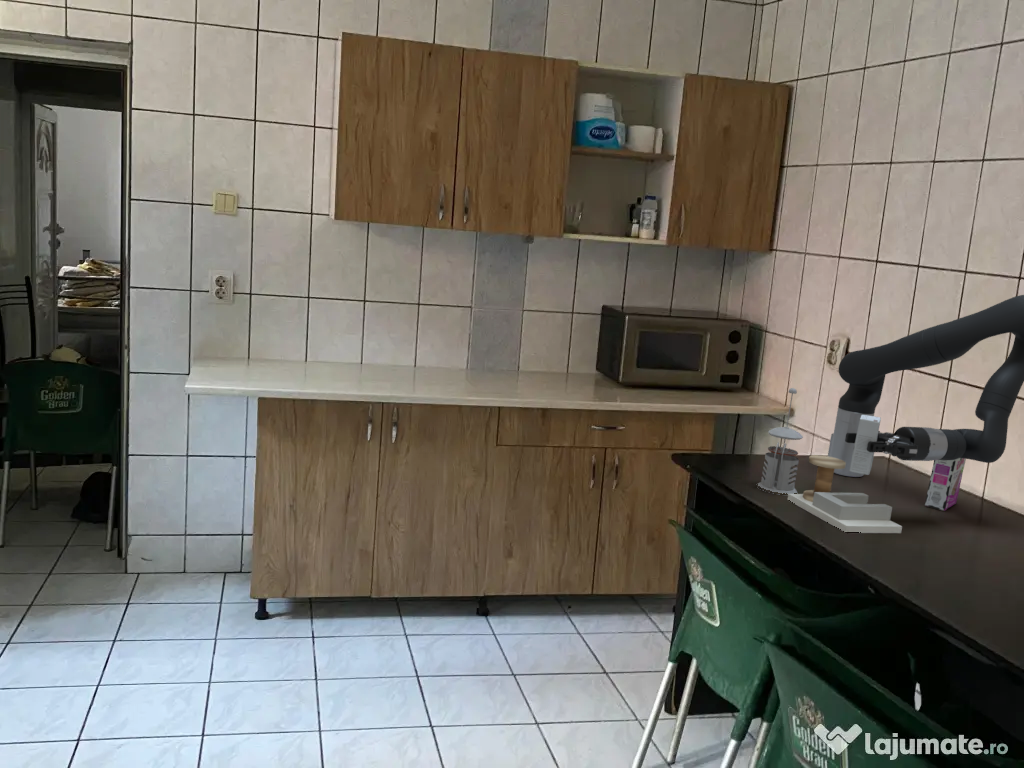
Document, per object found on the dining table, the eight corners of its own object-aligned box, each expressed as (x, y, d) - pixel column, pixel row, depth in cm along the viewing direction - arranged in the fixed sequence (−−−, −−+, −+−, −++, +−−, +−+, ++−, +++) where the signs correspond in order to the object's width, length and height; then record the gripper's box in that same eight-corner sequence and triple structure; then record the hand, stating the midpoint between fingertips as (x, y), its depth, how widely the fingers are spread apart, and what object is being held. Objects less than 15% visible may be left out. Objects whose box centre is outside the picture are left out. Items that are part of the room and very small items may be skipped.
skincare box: (851, 466, 207) (859, 413, 204) (872, 470, 205) (881, 417, 203) (848, 471, 201) (857, 417, 199) (870, 476, 199) (880, 421, 197)
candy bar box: (945, 512, 219) (959, 445, 216) (923, 506, 222) (936, 440, 219) (957, 504, 228) (970, 439, 225) (936, 498, 231) (949, 435, 228)
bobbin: (795, 493, 215) (802, 454, 213) (825, 494, 217) (831, 455, 216) (816, 504, 208) (822, 464, 206) (846, 505, 210) (853, 465, 208)
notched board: (787, 499, 215) (790, 481, 214) (838, 500, 219) (841, 482, 218) (845, 532, 194) (849, 512, 193) (900, 533, 198) (904, 513, 197)
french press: (800, 488, 226) (816, 389, 222) (793, 499, 216) (810, 395, 211) (759, 480, 230) (775, 382, 226) (751, 490, 220) (767, 388, 215)
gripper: (900, 420, 212) (839, 417, 207) (946, 435, 199) (881, 433, 194) (895, 451, 213) (834, 450, 208) (939, 469, 200) (875, 468, 195)
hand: (857, 442), depth 201 cm, fingers closed on skincare box, 7 cm apart
